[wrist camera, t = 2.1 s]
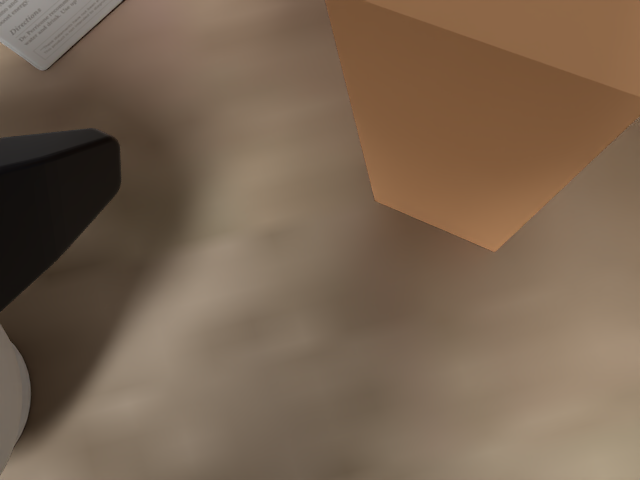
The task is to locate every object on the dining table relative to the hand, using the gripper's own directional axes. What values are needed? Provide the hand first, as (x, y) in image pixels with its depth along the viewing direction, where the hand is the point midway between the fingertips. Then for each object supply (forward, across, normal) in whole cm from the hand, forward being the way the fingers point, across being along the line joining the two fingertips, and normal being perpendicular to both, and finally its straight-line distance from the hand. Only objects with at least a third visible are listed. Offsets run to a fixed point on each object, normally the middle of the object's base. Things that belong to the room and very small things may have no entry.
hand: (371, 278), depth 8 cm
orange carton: (+12, 0, +4) cm, 13 cm away
